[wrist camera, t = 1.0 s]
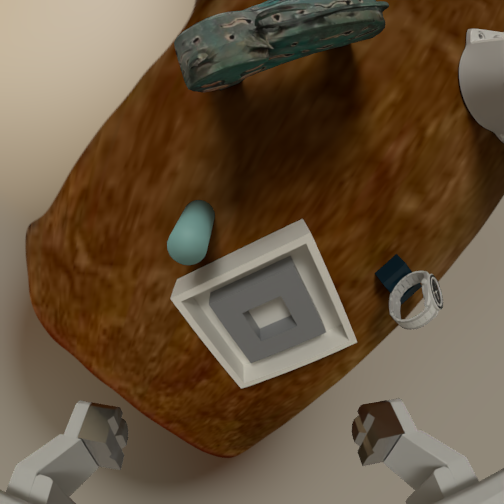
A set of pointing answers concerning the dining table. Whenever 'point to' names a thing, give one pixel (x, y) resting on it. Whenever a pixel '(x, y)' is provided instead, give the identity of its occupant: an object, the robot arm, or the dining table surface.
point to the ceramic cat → (270, 37)
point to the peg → (192, 233)
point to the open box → (266, 306)
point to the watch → (410, 291)
